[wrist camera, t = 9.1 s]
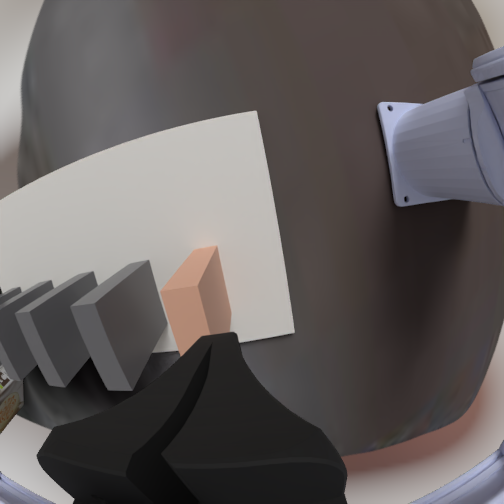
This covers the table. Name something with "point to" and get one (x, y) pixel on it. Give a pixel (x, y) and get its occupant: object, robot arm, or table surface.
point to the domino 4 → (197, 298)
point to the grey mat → (158, 219)
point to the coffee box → (9, 398)
